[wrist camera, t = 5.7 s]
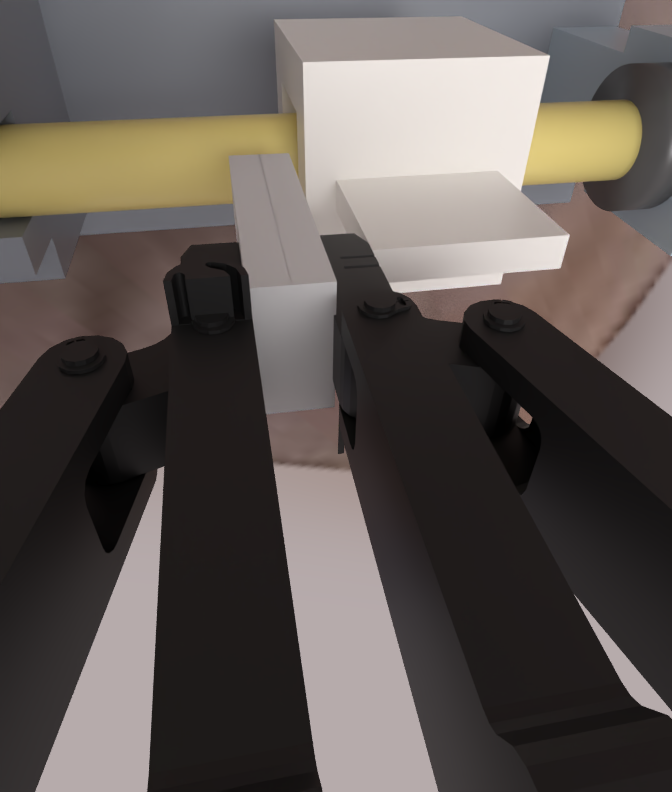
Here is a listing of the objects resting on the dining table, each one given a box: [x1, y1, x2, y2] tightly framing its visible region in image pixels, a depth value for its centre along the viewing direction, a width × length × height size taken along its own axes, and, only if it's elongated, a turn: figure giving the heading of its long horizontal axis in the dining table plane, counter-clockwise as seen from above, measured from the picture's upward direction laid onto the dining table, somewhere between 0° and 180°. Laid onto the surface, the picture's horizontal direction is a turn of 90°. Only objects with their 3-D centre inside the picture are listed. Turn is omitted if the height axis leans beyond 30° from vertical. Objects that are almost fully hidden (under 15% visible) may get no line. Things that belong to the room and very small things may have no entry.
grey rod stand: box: [0, 0, 672, 284], centre depth 20 cm, size 26×11×12 cm, turn 89°
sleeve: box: [274, 16, 570, 293], centre depth 17 cm, size 6×6×10 cm
